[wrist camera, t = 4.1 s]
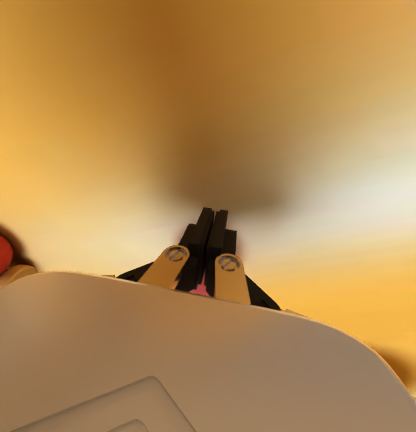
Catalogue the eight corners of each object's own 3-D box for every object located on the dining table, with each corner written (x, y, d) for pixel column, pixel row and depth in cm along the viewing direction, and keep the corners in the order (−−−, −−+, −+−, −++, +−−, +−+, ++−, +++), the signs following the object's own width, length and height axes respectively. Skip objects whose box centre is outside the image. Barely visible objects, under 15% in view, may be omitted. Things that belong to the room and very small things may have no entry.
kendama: (72, 308, 30) (17, 234, 18) (30, 351, 25) (-81, 289, 13) (37, 288, 31) (-36, 207, 19) (-10, 325, 26) (-143, 248, 15)
